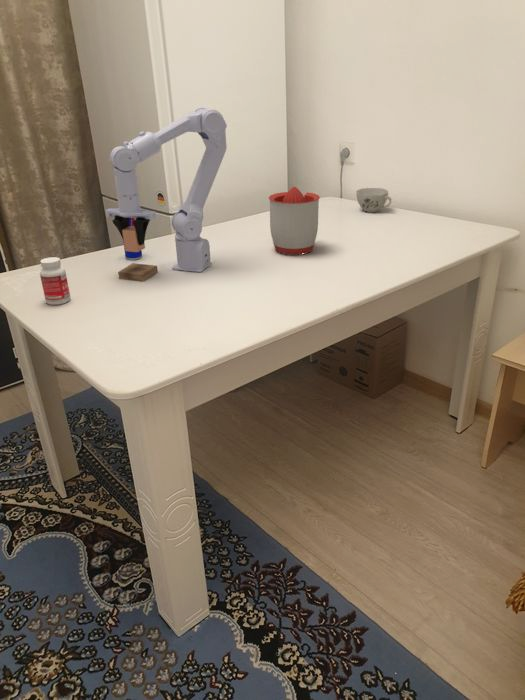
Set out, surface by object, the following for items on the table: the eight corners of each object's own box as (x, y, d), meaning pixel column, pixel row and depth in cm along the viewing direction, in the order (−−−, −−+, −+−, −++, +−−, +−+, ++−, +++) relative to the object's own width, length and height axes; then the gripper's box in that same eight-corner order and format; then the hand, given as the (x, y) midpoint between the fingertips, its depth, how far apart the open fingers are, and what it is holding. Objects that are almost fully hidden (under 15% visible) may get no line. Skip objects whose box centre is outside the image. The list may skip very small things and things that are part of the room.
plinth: (157, 272, 161) (157, 265, 160) (143, 281, 154) (142, 274, 153) (133, 269, 163) (133, 263, 162) (119, 278, 156) (118, 271, 155)
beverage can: (138, 260, 170) (132, 212, 164) (122, 260, 171) (116, 211, 165) (144, 255, 175) (139, 208, 168) (129, 254, 176) (123, 207, 169)
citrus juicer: (322, 242, 183) (323, 181, 174) (314, 259, 168) (316, 192, 159) (276, 240, 187) (275, 180, 177) (264, 256, 172) (263, 191, 162)
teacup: (348, 211, 221) (349, 191, 217) (366, 206, 229) (368, 186, 225) (380, 217, 211) (382, 196, 208) (398, 211, 219) (400, 190, 216)
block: (145, 248, 156) (142, 227, 153) (137, 252, 153) (134, 230, 150) (132, 246, 157) (129, 226, 154) (125, 251, 154) (122, 229, 151)
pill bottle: (69, 304, 140) (61, 262, 135) (44, 306, 139) (35, 264, 134) (71, 295, 146) (64, 255, 141) (47, 297, 144) (38, 257, 139)
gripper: (96, 195, 147) (104, 245, 153) (143, 198, 142) (149, 249, 149) (111, 190, 153) (118, 238, 159) (157, 193, 148) (162, 242, 154)
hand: (134, 243), depth 154 cm, fingers closed on block, 4 cm apart
